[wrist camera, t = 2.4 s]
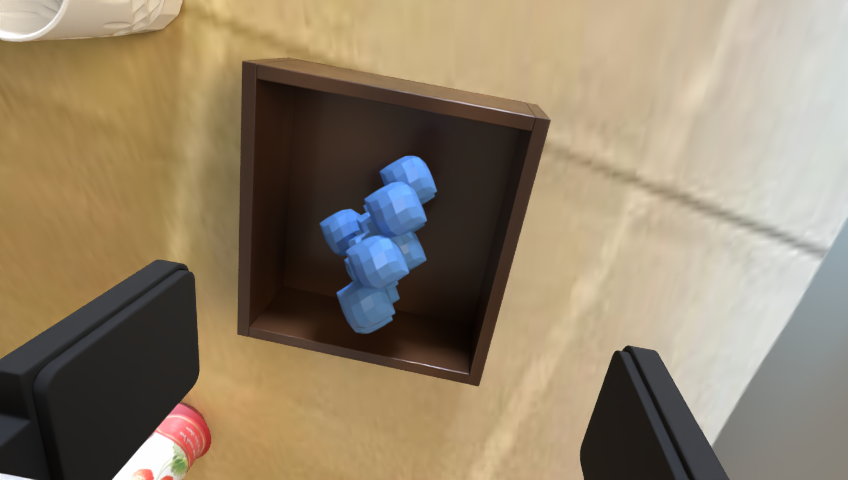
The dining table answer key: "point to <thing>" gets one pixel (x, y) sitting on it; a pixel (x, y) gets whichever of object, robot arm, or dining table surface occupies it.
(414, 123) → the brown wooden box
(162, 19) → the white cup
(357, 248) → the grapes
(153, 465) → the liquor
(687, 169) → the dining table surface
